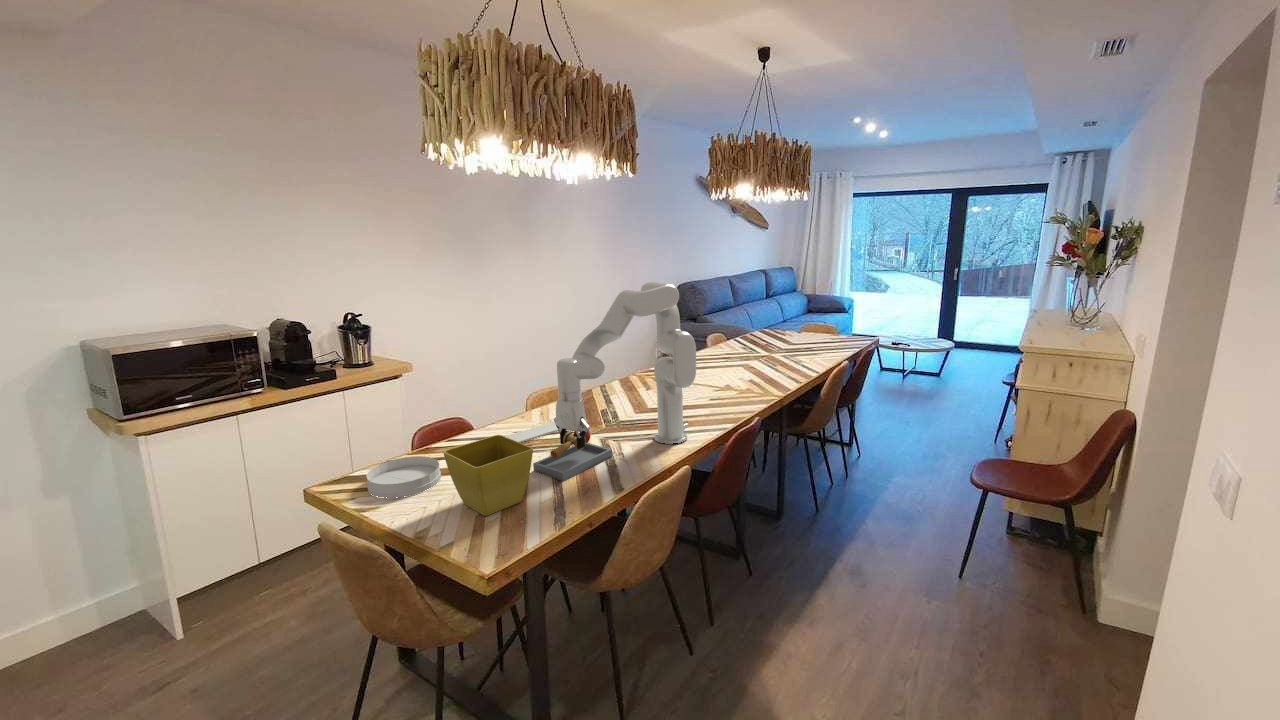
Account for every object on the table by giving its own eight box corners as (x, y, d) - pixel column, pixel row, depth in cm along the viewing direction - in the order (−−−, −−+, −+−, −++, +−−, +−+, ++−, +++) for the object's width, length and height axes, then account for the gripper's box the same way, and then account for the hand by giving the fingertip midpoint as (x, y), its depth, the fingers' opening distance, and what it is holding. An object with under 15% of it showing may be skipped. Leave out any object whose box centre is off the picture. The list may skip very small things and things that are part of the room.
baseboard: (483, 443, 215) (499, 451, 206) (482, 436, 214) (498, 444, 206) (549, 423, 235) (566, 430, 227) (549, 416, 235) (566, 423, 226)
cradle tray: (583, 448, 205) (582, 441, 204) (612, 456, 197) (611, 449, 196) (533, 471, 187) (533, 463, 186) (563, 481, 178) (562, 473, 178)
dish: (455, 475, 186) (454, 461, 185) (404, 504, 167) (402, 489, 165) (406, 466, 195) (404, 452, 194) (351, 492, 175) (349, 478, 174)
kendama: (566, 464, 181) (598, 439, 195) (560, 447, 179) (592, 423, 193) (548, 464, 185) (581, 440, 199) (543, 447, 184) (576, 423, 198)
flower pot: (503, 482, 179) (498, 433, 175) (538, 500, 166) (534, 447, 162) (447, 504, 165) (441, 451, 162) (481, 525, 153) (475, 468, 149)
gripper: (543, 394, 189) (546, 443, 192) (580, 402, 178) (583, 454, 182) (559, 389, 194) (562, 437, 198) (596, 396, 184) (598, 447, 188)
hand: (572, 445), depth 190 cm, fingers closed on kendama, 7 cm apart
